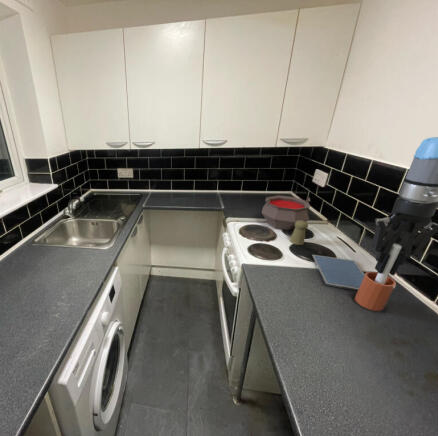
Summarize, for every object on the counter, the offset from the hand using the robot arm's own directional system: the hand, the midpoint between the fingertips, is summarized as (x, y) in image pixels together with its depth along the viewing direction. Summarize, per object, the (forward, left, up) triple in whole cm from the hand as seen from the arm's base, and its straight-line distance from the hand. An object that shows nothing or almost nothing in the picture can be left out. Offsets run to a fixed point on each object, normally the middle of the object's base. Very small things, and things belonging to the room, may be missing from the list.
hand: (384, 271), depth 70 cm
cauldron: (+18, -56, -13) cm, 61 cm away
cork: (+14, -37, -13) cm, 42 cm away
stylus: (0, 0, -11) cm, 11 cm away
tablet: (+3, -15, -13) cm, 20 cm away
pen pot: (0, 0, -13) cm, 13 cm away
